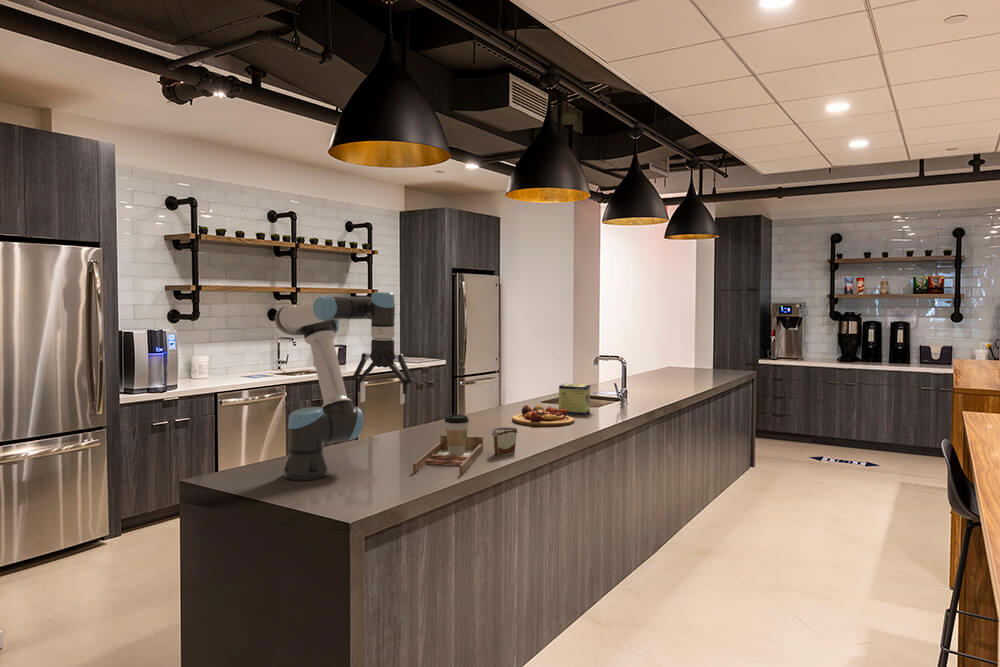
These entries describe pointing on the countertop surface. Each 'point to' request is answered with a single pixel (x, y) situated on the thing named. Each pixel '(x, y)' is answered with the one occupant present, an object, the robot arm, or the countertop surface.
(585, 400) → the protein box
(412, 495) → the countertop surface
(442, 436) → the wooden frame with crossbars
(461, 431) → the coffee cup
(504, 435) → the food container
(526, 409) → the wooden plate with food
